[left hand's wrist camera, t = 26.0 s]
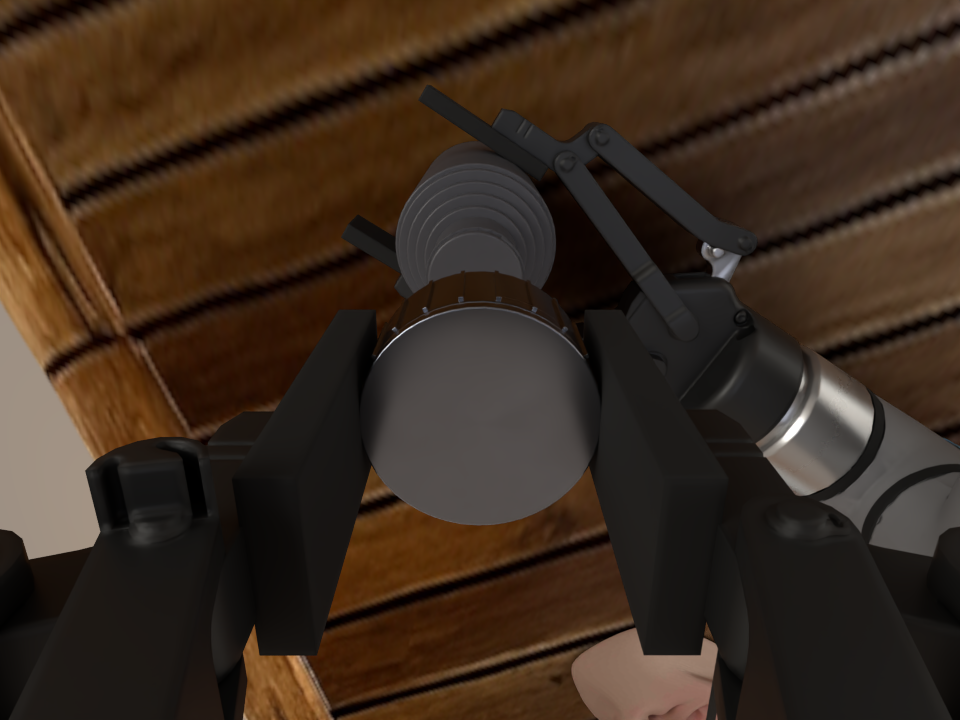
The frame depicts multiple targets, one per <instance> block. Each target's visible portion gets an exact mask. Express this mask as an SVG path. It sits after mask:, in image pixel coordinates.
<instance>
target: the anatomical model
mask: <svg viewBox="0 0 960 720" xmlns="http://www.w3.org/2000/svg"><path fill="white" fill-rule="evenodd" d="M717 651H718V648H717V645H716V644H715V643H713V642H711V641H709V640H707V639H705V638H703V644H702V651H701V655H644V654H643V651H642V648H641V644H640V641H639V637H638V634H637V630H636V628H633V629H630V630H627V631H624V632H621V633H619V634H616V635H614V636H612V637H610V638H608V639H606V640H604V641H602V642H600V643H598V644H596V645H594V646H593V647H591V648H589V649H588V650H586V651H585V652H583V653H582V654H581V655H580V656H579V657H578V658H577V659H576V660H575V661H574V663H573V665H572V677H573V680H574V683H575V685H576V687H577V689H578V691H579V694H580V696H581V698H582V699H583V701H584V703H585V704H586V705H587V707H588V708H589V709H590V711H591V712H592V713H593V714H594V716H595V717H597V718H598V719H599V720H706V716H707V710H708V704H709V698H710V692H711V686H712V680H713V675H714V669H715V663H716V657H717ZM716 720H717V715H716Z"/></svg>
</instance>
